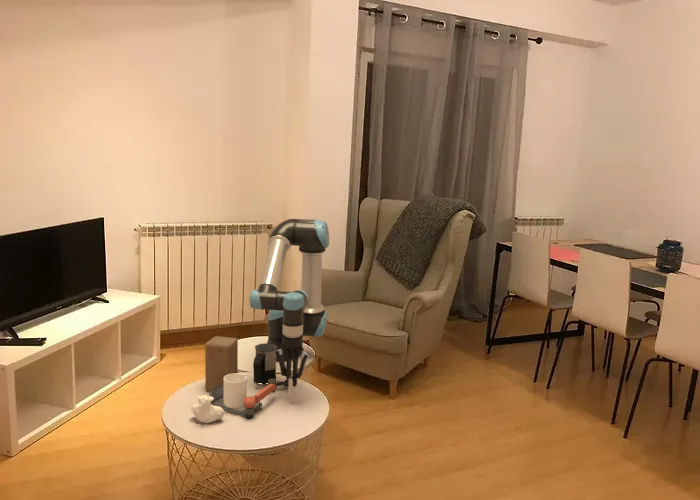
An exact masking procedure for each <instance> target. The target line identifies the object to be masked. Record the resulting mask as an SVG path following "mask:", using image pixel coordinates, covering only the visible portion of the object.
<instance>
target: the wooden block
mask: <svg viewBox="0 0 700 500" xmlns="http://www.w3.org/2000/svg"><path fill="white" fill-rule="evenodd" d="M238 340H239V339H238V338H235V337H229V336H228V337H227V336H219V335H216V336H214V337H212V338H211V339H209V340H208V341H207V342H206V343H205V345H204V346H205V348H204V349H205V352H204V354H205V355H204V356H205V357H204V358H205V360H204V361H205V362H204V363H205V366H204V367H205V371H204V372H205V376H204V377H205V383H204V385H205V391H206V392H209V390H211V389H213V388H215V387H217V386H219V385H220V384H222V383H224V377H225V376H226V375H228V374H233V373H238V369H239V367H238V366H239V365H238V361H239V360H238V359H239V358H238V356H239V355H238V346H239V345H238V344H239V343H238Z"/></svg>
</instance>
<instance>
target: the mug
mask: <svg viewBox="0 0 700 500" xmlns="http://www.w3.org/2000/svg"><path fill="white" fill-rule="evenodd" d="M245 397H247V376H246V375H245V374H243V373H233V374H228V375H226V376H225V377H224V405H225V406H226V407H228V408H240V407H243V406H244V398H245Z"/></svg>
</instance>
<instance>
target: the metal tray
mask: <svg viewBox="0 0 700 500" xmlns="http://www.w3.org/2000/svg"><path fill="white" fill-rule="evenodd" d="M209 396H211V397H214V399H213V401H211V405H213V406H219V407H221V408H222V409H223V410H224V412H226V413H230V414H233V415H236V416H239V417H242V418H245V419H247V420H251V419H254V418H255V415H254V414H255V412H256V411H258V410H260V409H261V408H262V407H263V403H262V402H260V404H259V405H258V406H257V407H255V408H254V407H253V408H246V407H244V406H243V407H240V408H228V407H226V406H225V405H224V383H222V384H220V385H219V386H217V387H215V388H213V389H211V390H209V391H208V397H209ZM260 407H261V408H260Z"/></svg>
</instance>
